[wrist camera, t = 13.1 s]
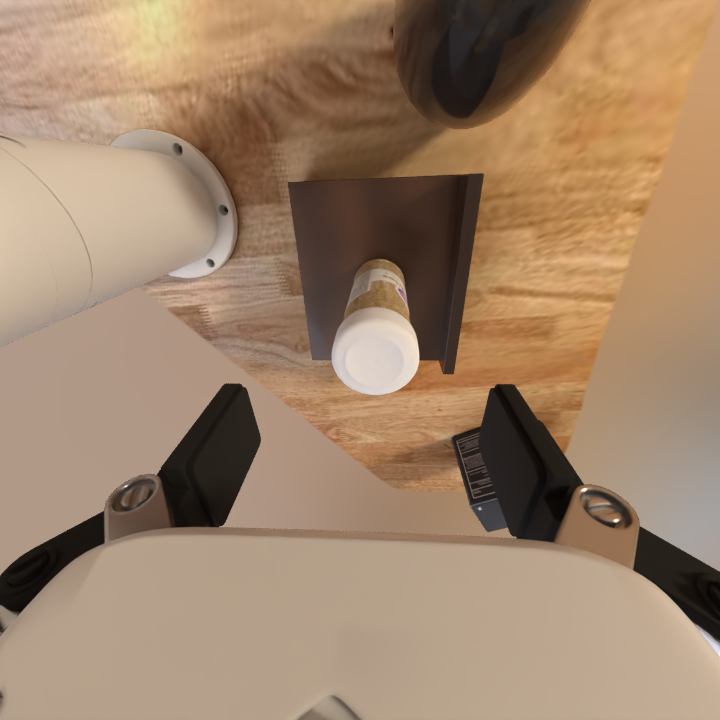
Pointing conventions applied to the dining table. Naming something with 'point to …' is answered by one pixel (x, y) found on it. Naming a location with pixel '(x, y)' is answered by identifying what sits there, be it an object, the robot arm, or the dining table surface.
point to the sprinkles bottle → (376, 332)
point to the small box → (478, 481)
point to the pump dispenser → (477, 53)
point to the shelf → (388, 251)
